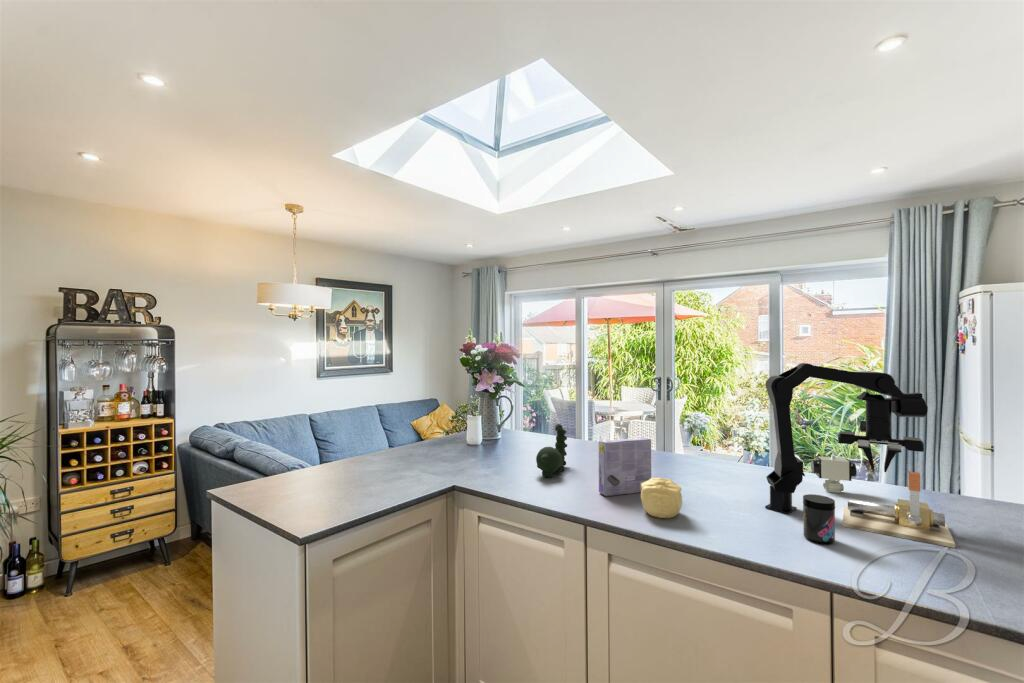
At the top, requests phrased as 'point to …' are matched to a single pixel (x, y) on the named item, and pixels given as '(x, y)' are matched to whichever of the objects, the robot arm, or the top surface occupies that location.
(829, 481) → the pneumatic valve
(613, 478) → the cake pan box
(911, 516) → the valve lever
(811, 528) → the supplement container
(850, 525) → the mounting board
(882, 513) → the valve pipe
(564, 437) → the toy figurine
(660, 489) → the sculpture
